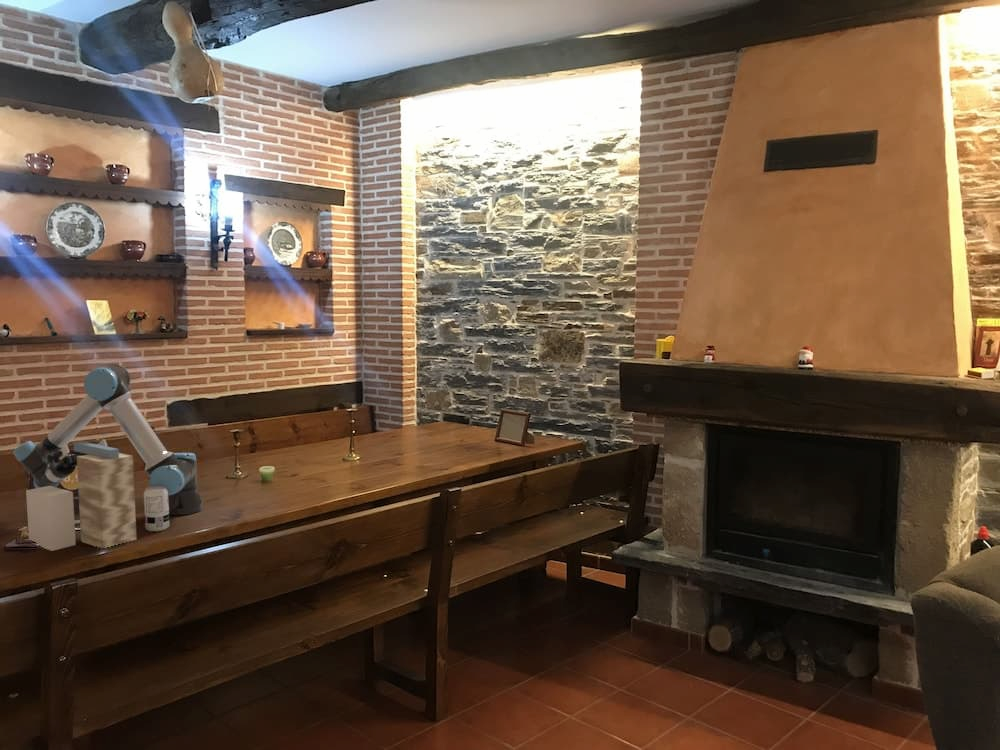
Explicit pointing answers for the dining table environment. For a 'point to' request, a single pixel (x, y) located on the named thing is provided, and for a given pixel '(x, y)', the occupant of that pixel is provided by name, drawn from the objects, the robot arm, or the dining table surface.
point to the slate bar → (96, 450)
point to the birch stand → (106, 500)
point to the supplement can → (156, 508)
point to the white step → (51, 517)
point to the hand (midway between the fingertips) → (86, 445)
